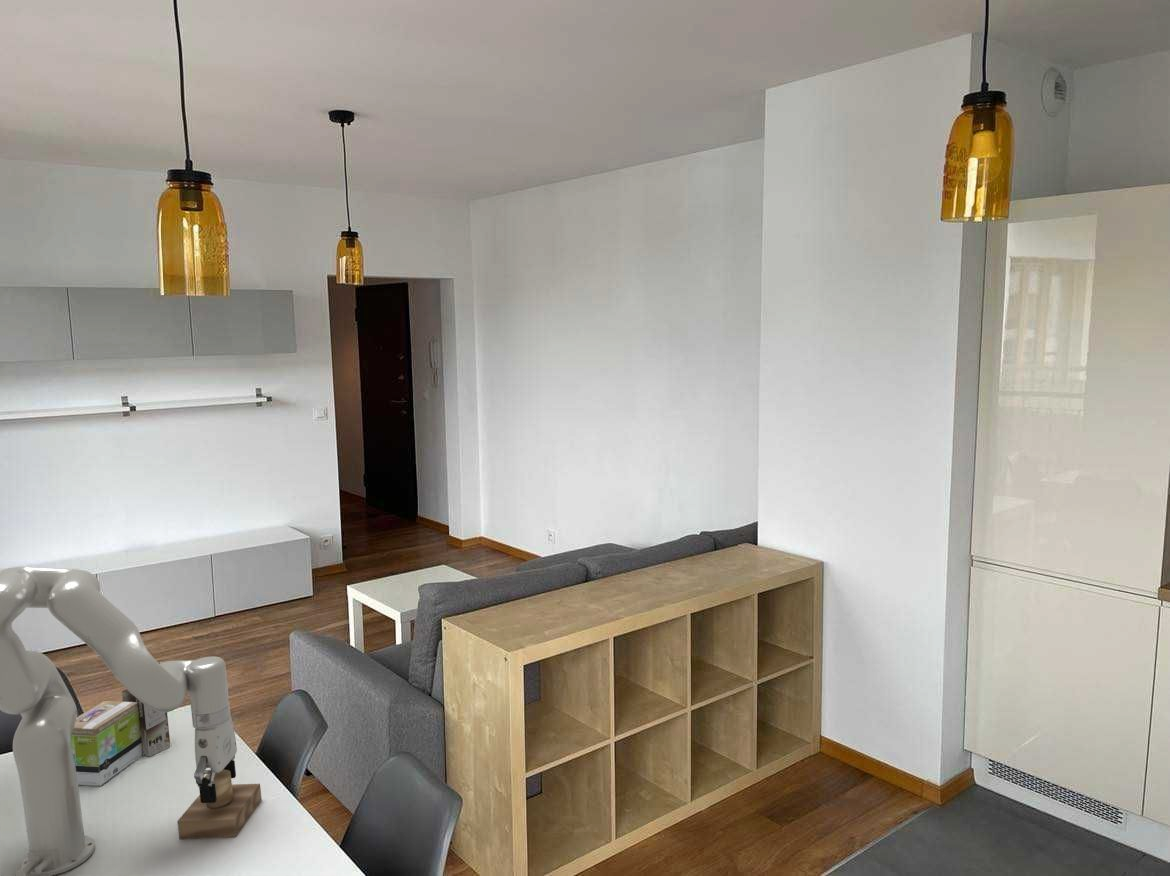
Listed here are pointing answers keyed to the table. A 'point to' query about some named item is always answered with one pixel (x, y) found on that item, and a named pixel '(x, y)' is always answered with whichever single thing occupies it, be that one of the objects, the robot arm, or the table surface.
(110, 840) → the table surface
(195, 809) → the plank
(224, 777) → the peg
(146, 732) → the coffee box
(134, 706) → the tea box
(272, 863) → the table surface
